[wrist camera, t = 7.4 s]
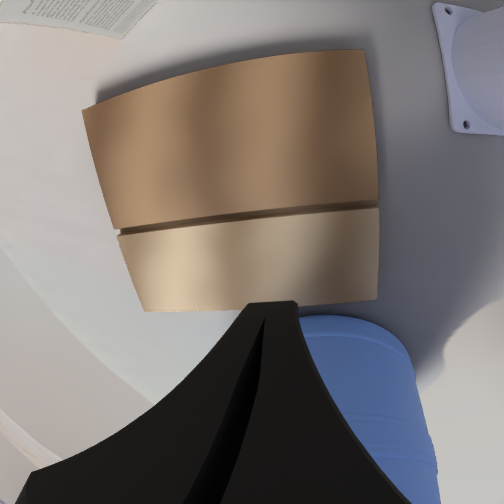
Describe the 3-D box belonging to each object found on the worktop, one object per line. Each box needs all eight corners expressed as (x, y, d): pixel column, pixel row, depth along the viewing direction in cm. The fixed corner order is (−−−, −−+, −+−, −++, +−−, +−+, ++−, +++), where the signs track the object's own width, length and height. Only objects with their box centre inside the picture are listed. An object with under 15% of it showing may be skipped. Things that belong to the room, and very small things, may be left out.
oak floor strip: (374, 195, 17) (378, 202, 16) (373, 289, 19) (377, 299, 18) (123, 224, 20) (114, 231, 19) (150, 302, 22) (144, 311, 21)
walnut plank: (359, 52, 13) (363, 49, 12) (373, 192, 16) (378, 199, 15) (92, 108, 16) (81, 110, 15) (122, 222, 20) (114, 229, 19)
